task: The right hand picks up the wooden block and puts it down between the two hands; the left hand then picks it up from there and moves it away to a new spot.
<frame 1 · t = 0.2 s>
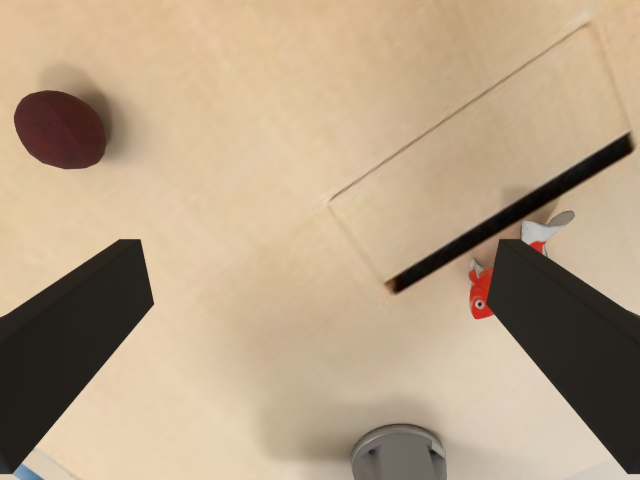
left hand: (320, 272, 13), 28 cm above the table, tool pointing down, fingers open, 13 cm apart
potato: (86, 130, 37), on the table
fish: (502, 249, 43), on the table
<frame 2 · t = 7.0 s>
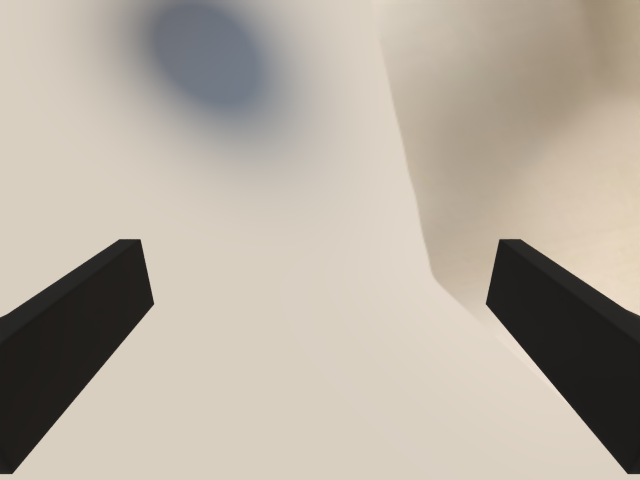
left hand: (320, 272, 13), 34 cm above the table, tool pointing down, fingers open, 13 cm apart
when the right hand's fingers open (2 cm above the table, at t = 17.9 s): block drops 1 cm, on the table.
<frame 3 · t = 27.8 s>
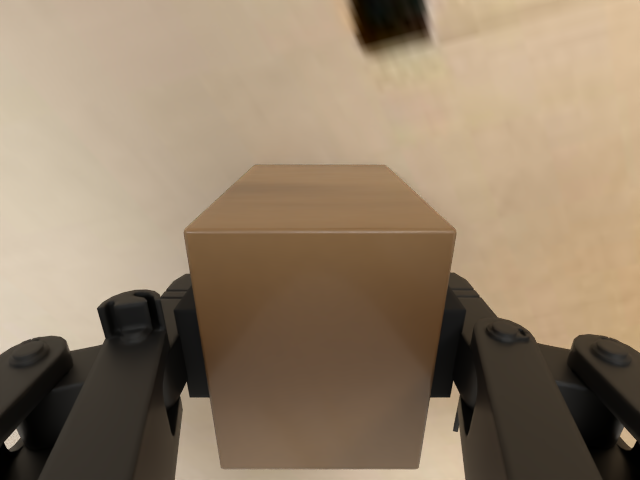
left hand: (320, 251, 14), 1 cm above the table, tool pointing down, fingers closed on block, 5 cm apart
block: (319, 243, 15), on the table, touching left hand
when the left hand's fingers open (2 cm above the table, at t = 37.9 s): block drops 1 cm, on the table.
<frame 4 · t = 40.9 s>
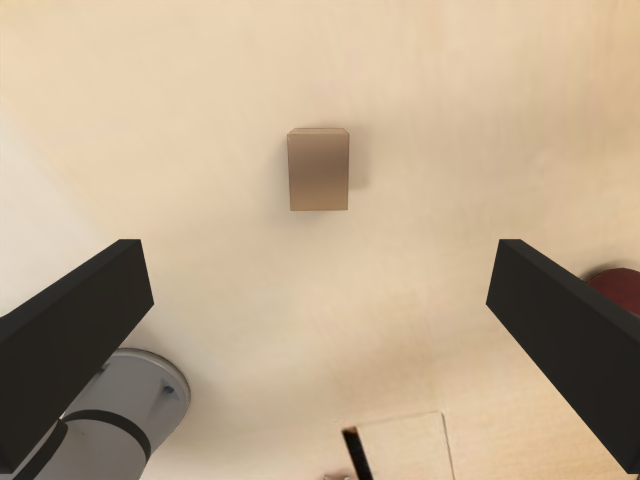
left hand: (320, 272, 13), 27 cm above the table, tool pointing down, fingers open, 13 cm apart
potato: (598, 284, 43), on the table
block: (318, 161, 38), on the table
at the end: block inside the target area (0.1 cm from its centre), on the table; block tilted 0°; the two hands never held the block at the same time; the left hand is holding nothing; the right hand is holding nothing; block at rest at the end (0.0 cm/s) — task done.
